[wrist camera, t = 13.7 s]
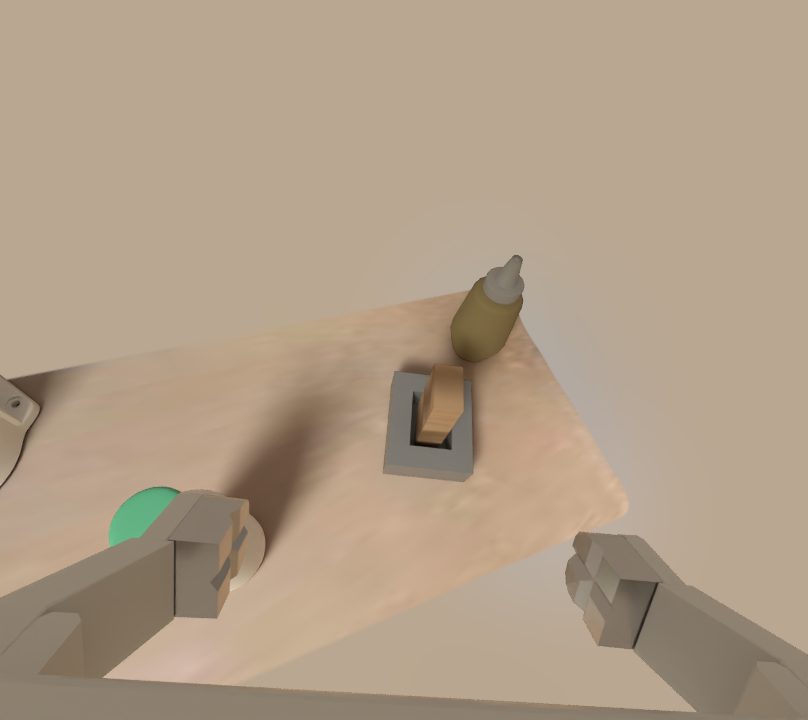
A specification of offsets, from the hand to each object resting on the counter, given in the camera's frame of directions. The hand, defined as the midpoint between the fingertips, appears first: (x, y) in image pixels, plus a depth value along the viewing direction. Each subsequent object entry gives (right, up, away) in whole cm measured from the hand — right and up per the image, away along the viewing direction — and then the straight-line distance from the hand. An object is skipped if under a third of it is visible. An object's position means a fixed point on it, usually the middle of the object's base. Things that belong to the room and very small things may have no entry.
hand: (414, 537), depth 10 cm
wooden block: (+3, -4, +40) cm, 41 cm away
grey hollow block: (+3, -5, +41) cm, 42 cm away
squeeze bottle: (+10, +6, +49) cm, 51 cm away
